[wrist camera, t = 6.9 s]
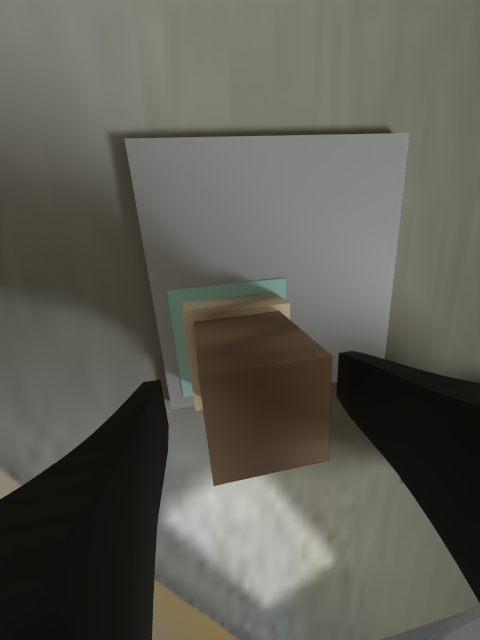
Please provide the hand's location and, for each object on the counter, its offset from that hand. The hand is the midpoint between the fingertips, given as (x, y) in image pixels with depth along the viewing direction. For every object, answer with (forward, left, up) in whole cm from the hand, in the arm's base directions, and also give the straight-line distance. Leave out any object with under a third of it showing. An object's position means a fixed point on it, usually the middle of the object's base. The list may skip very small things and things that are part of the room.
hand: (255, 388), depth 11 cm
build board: (-3, -3, -6) cm, 7 cm away
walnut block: (0, 0, -3) cm, 3 cm away
